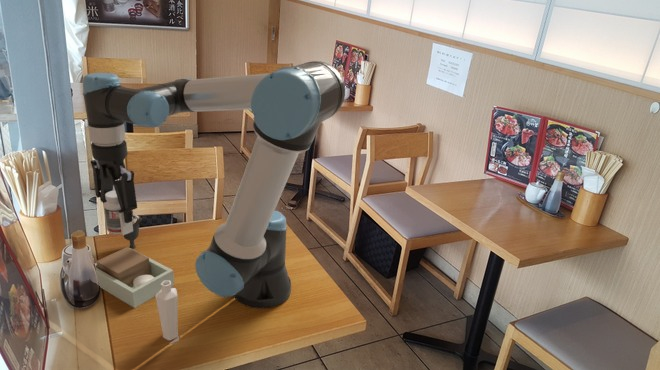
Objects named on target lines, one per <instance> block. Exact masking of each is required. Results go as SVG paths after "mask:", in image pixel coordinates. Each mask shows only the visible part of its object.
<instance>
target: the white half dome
mask: <svg viewBox="0 0 660 370" xmlns="http://www.w3.org/2000/svg"><path fill="white" fill-rule="evenodd" d="M153 278H154V277H153V276H151V275H141V276H138V277H137V278H135V279H134V281H133V284H134V289H135V288H137V287H139V286H140V285H142V284H144V283H146V282H148V281H150V280H151V279H153Z"/></svg>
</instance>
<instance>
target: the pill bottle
mask: <svg viewBox="0 0 660 370" xmlns="http://www.w3.org/2000/svg"><path fill="white" fill-rule="evenodd" d="M105 198H106V200H107V202H106V203H105V205H104V208H105V214H104V217H105V216H106V222H105V224H106V223H107V226H106V229H107V231H108V232H109V233H110V234H113V235H122V232H121V224H120V216H119V210H121V208H120V204H119V201H118V198H117V194H116V191H115V189H113V191H109V192H107V193H106V194H105ZM104 208H103V209H104Z"/></svg>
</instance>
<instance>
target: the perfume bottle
mask: <svg viewBox="0 0 660 370" xmlns="http://www.w3.org/2000/svg"><path fill="white" fill-rule="evenodd" d="M161 286H162V289H161V290H160V291H159V292H158V293H157V295H156V296H155V301H156V306H157V311H158V315H159V321H160V326H161V330H162V338H164V339H165V340H166V341H170V342H169V343H168V345H169V344H170V345H172V344H174V343H176V342H178V341H180V336H179V333H178V332H179V331H178V329H179V328H178V319H179V318H178V315H179V314H178V313H179V312H178V308H179V307H178V306H179V305H178V299H179V298H178V291H177V288H176V287H171V281H163V282H162V283H161Z"/></svg>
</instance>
